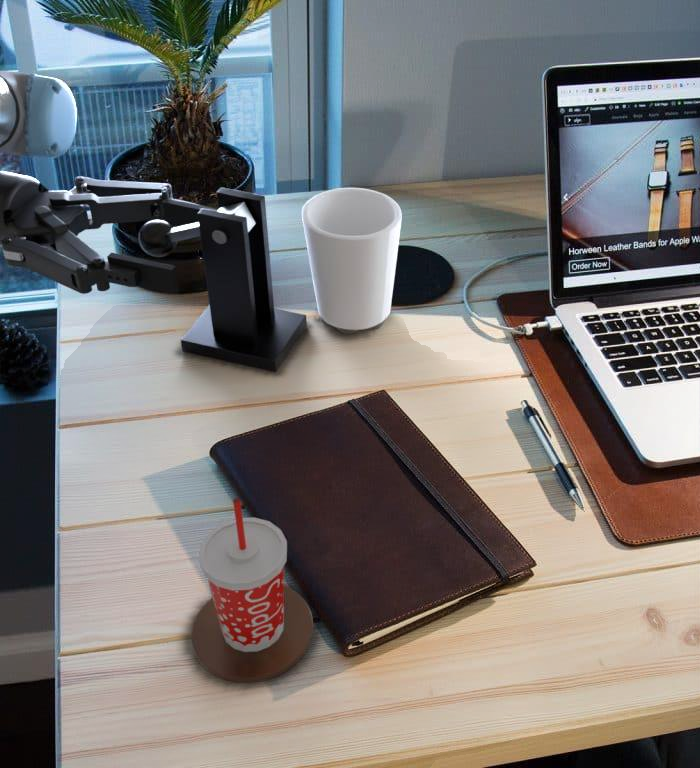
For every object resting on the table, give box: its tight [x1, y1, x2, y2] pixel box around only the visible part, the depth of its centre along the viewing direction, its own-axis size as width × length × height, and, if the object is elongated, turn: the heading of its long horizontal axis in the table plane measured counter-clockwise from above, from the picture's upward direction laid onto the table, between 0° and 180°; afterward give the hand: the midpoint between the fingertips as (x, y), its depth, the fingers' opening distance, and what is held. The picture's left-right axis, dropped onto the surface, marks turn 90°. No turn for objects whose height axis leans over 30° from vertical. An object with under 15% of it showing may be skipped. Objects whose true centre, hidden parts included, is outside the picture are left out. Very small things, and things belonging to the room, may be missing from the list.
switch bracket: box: [180, 187, 308, 373], centre depth 102 cm, size 10×8×16 cm
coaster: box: [191, 585, 314, 684], centre depth 80 cm, size 9×9×1 cm
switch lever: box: [138, 202, 256, 258], centre depth 99 cm, size 12×4×4 cm, turn 76°
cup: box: [301, 187, 403, 335], centre depth 107 cm, size 10×10×13 cm
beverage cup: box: [197, 497, 288, 652], centre depth 75 cm, size 6×6×14 cm
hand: (201, 251), depth 101 cm, fingers open, 10 cm apart
